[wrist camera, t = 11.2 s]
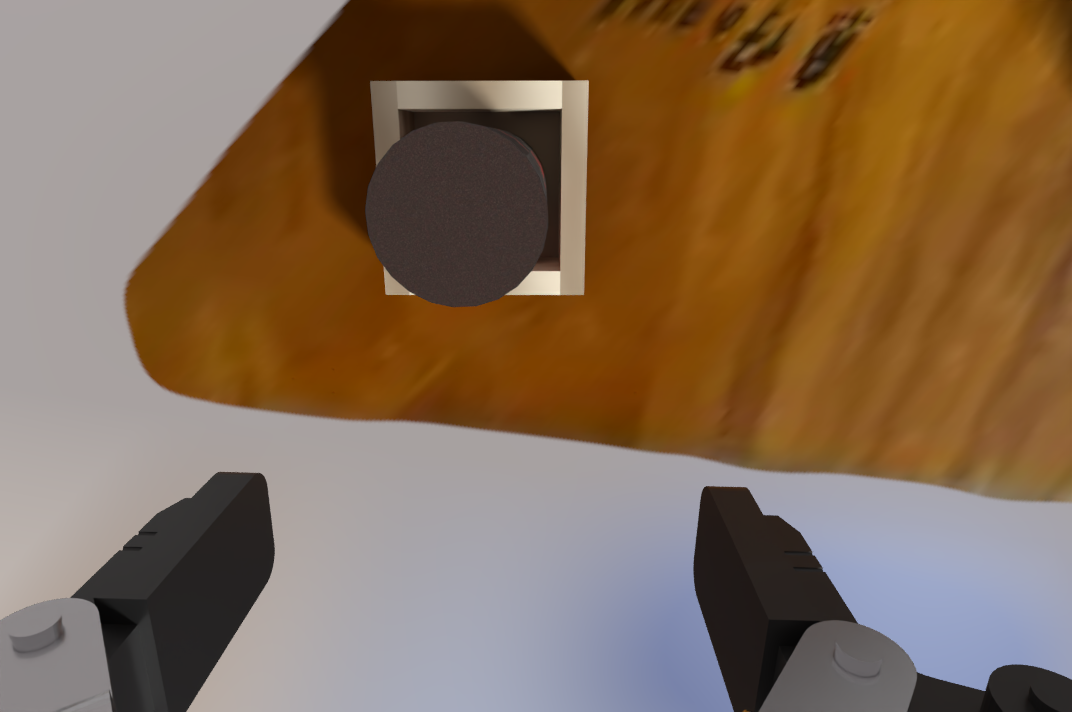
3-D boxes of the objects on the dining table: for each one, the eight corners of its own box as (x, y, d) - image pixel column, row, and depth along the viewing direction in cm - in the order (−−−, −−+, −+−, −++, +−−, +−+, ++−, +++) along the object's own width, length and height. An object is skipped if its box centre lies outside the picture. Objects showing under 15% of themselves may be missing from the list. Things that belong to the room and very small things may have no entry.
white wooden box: (582, 88, 35) (588, 80, 30) (578, 275, 38) (583, 295, 34) (393, 88, 35) (370, 81, 30) (405, 274, 38) (385, 294, 34)
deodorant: (486, 263, 37) (452, 342, 23) (412, 179, 36) (326, 207, 21) (568, 192, 36) (586, 228, 22) (495, 103, 34) (462, 78, 20)
